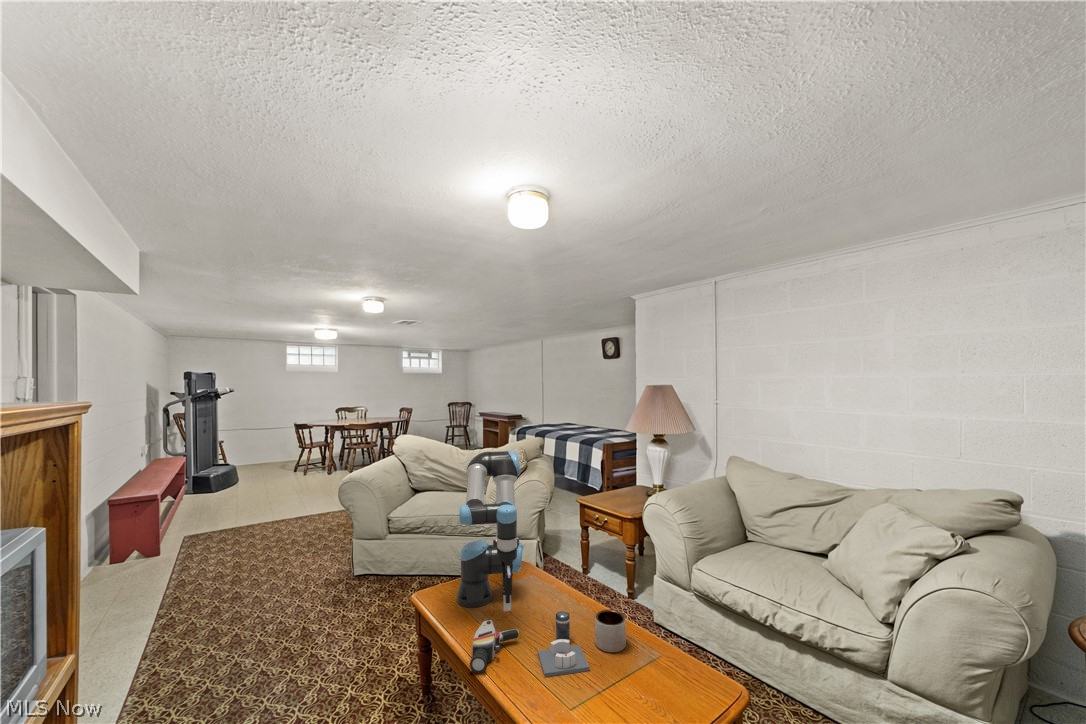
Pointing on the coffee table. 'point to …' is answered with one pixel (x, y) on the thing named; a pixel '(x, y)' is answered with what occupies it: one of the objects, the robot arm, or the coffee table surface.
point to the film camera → (488, 644)
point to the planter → (610, 631)
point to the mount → (562, 659)
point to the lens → (562, 625)
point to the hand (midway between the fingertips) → (507, 609)
